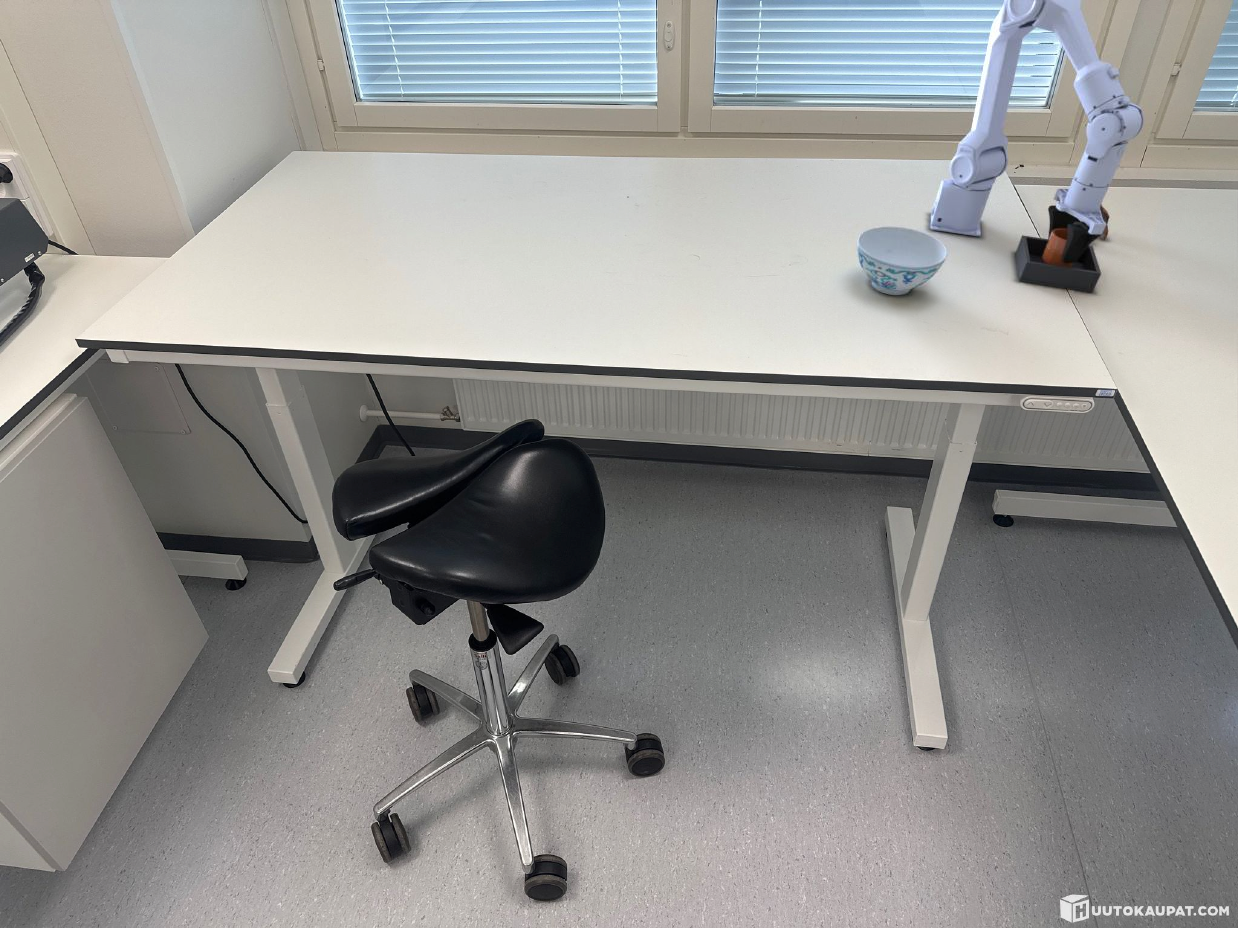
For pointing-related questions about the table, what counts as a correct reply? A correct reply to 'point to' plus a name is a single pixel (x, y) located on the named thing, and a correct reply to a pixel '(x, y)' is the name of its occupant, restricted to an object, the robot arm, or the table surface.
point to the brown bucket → (1056, 248)
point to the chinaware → (899, 258)
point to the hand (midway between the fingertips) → (1060, 254)
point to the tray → (1056, 267)
